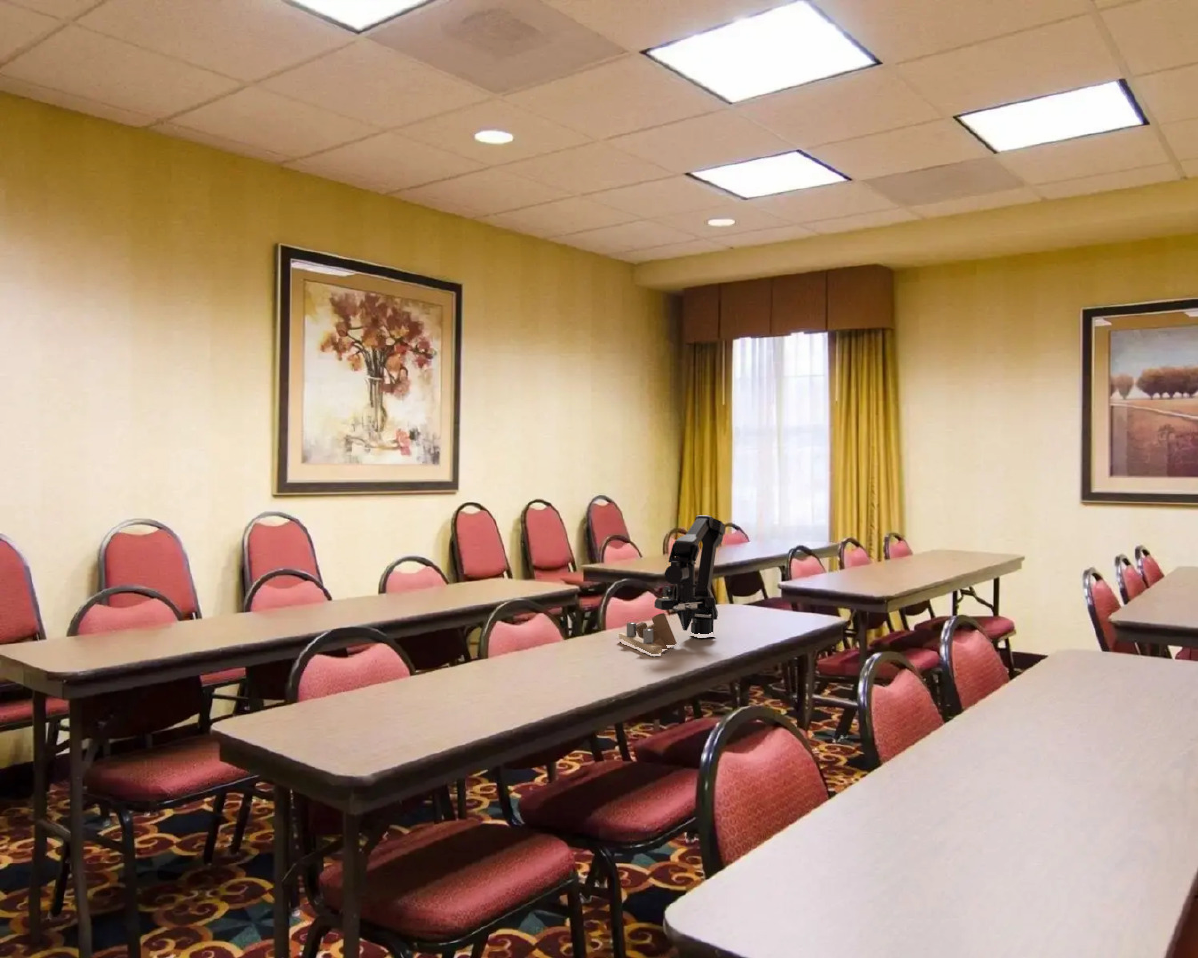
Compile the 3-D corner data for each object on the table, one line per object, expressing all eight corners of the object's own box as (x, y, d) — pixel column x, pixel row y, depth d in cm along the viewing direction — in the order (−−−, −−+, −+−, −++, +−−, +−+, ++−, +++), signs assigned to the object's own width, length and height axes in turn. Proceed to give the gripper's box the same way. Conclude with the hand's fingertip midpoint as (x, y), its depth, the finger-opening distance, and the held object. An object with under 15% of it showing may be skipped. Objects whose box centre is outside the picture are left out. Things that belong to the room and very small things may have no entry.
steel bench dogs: (633, 644, 289) (633, 622, 289) (654, 653, 275) (655, 630, 275) (624, 645, 288) (625, 622, 288) (645, 654, 274) (646, 630, 274)
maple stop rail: (627, 641, 293) (627, 632, 293) (661, 656, 271) (661, 646, 271) (619, 642, 292) (619, 633, 292) (652, 657, 270) (652, 646, 270)
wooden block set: (638, 650, 292) (626, 621, 291) (661, 638, 295) (649, 609, 294) (662, 659, 275) (649, 628, 274) (686, 646, 278) (673, 615, 277)
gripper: (699, 575, 298) (699, 624, 299) (647, 578, 291) (646, 627, 292) (716, 580, 288) (716, 630, 288) (662, 583, 281) (662, 634, 281)
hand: (685, 630), depth 288 cm, fingers closed
